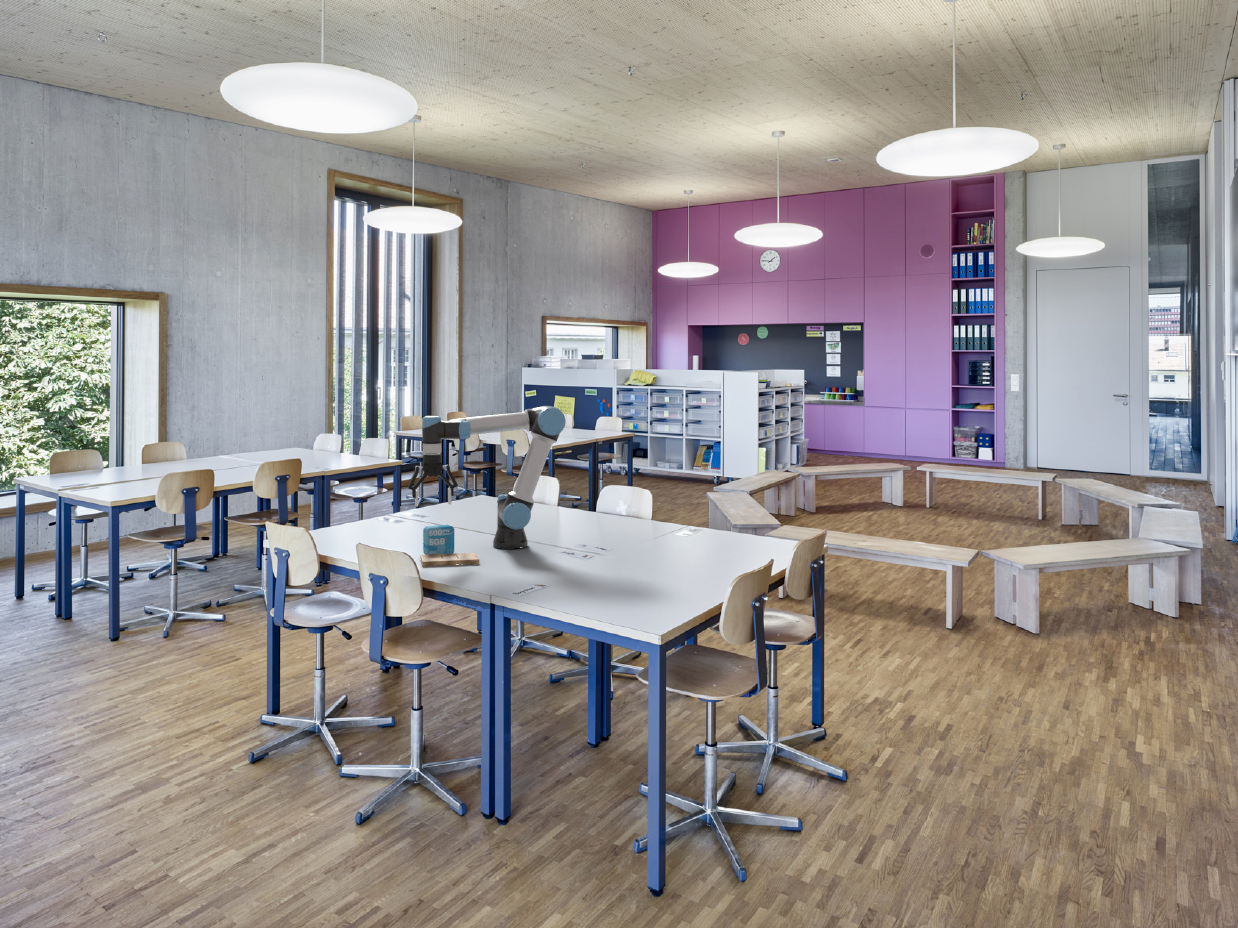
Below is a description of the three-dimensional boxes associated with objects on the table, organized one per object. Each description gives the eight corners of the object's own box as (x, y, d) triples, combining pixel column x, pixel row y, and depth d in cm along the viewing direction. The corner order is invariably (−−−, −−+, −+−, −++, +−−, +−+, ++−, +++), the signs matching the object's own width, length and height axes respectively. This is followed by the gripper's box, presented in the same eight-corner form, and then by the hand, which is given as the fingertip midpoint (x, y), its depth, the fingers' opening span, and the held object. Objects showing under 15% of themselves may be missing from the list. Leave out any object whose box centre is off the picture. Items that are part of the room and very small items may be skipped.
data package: (427, 557, 341) (427, 528, 340) (423, 555, 345) (423, 526, 344) (454, 554, 348) (454, 525, 347) (450, 552, 352) (450, 524, 351)
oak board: (475, 557, 343) (475, 552, 342) (479, 564, 330) (479, 559, 330) (420, 559, 336) (420, 554, 336) (422, 566, 324) (422, 561, 324)
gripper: (460, 451, 350) (461, 501, 352) (399, 454, 340) (401, 505, 342) (464, 453, 343) (465, 504, 345) (402, 455, 333) (403, 508, 335)
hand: (433, 505), depth 344 cm, fingers open, 13 cm apart
